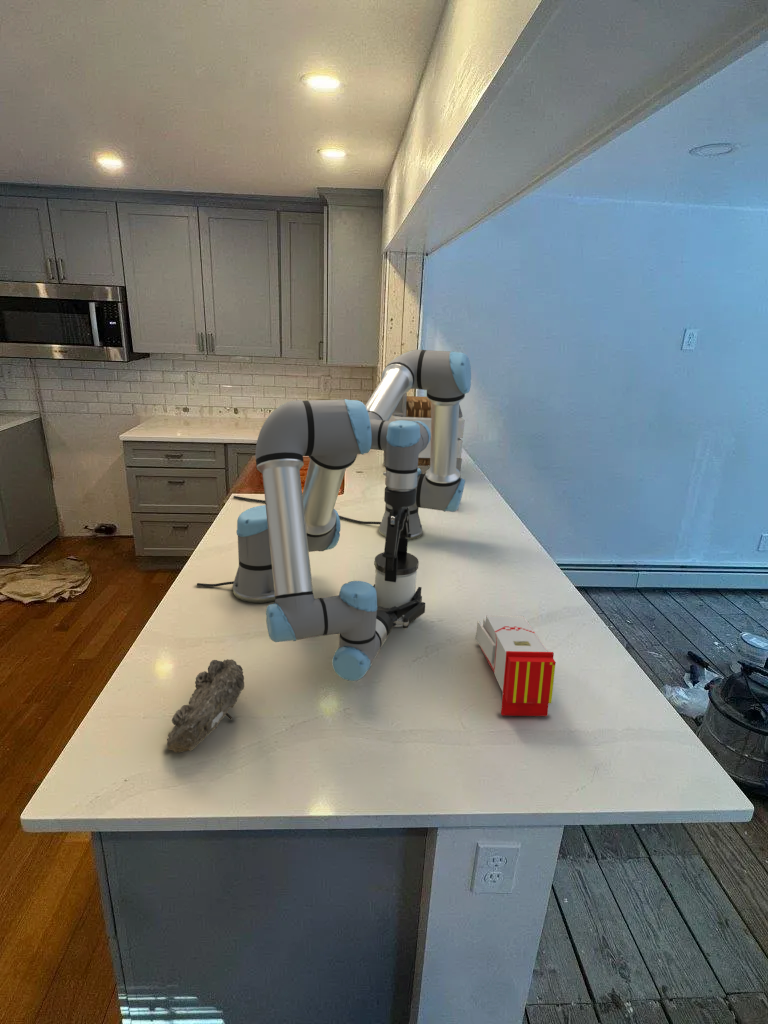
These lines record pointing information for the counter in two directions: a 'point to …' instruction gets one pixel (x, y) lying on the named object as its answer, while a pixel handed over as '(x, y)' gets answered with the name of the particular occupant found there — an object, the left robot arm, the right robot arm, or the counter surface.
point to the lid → (399, 563)
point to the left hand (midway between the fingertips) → (399, 587)
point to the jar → (394, 590)
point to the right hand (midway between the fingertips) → (396, 570)
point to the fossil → (206, 705)
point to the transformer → (421, 411)
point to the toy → (518, 664)
